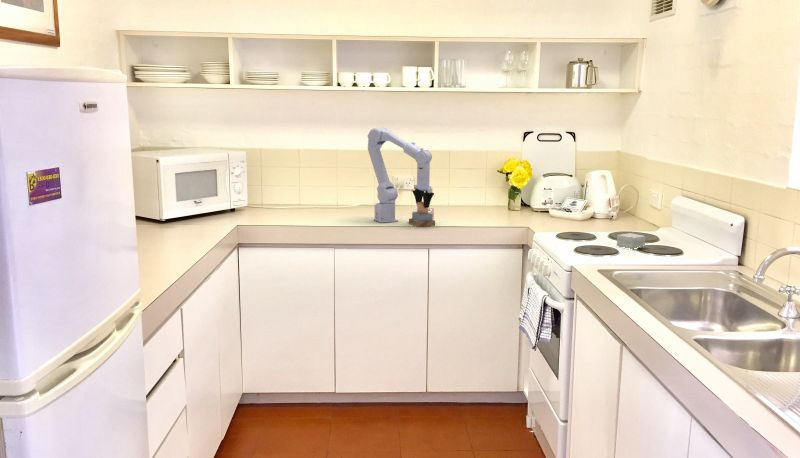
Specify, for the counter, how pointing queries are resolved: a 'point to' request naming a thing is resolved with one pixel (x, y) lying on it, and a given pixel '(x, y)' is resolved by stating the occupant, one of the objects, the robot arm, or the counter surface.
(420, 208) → the terracotta cylinder
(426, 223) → the walnut slab
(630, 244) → the small box
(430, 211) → the ink box
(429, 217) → the slate block
